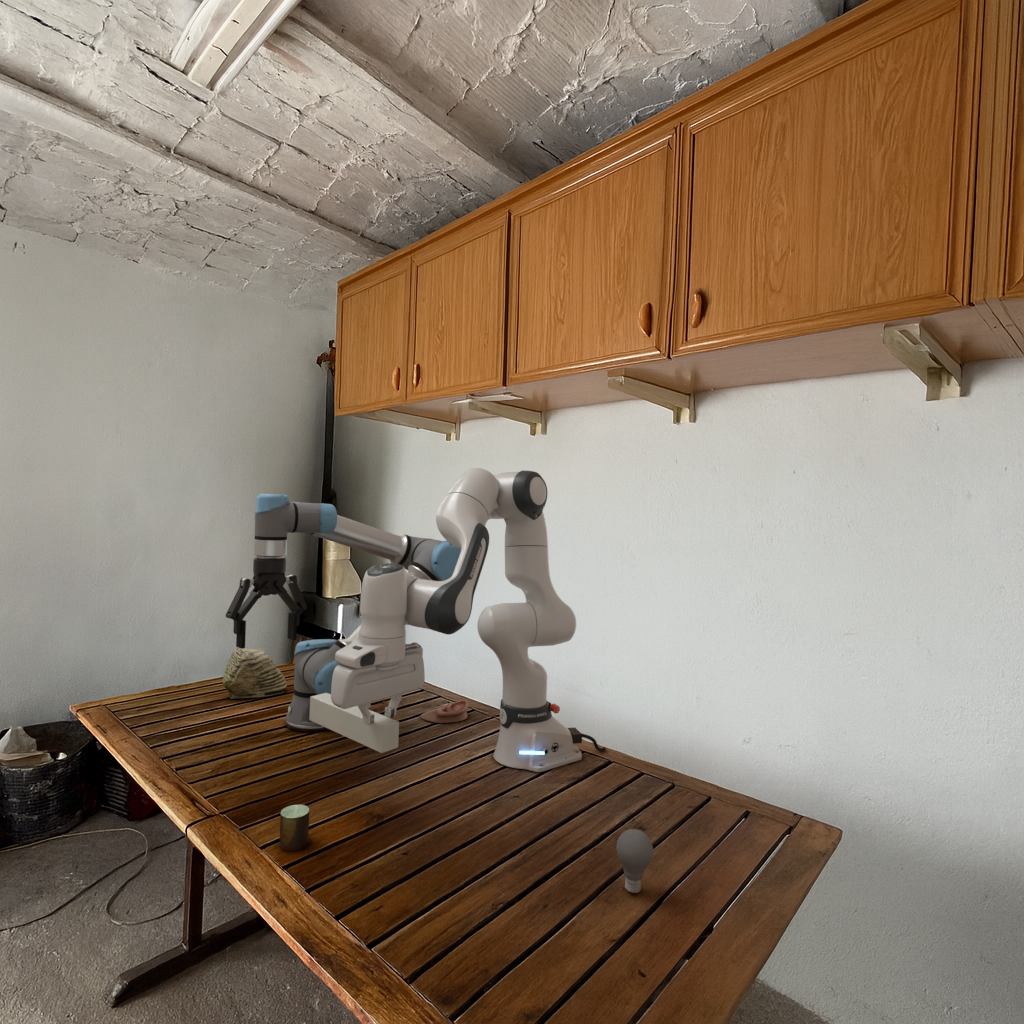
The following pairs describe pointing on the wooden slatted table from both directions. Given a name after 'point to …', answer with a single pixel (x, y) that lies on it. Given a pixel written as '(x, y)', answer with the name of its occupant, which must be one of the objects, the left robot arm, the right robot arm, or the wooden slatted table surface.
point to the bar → (355, 724)
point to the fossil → (252, 674)
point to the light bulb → (634, 857)
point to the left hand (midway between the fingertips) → (267, 643)
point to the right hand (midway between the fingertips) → (379, 720)
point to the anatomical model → (447, 713)
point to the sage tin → (294, 827)
